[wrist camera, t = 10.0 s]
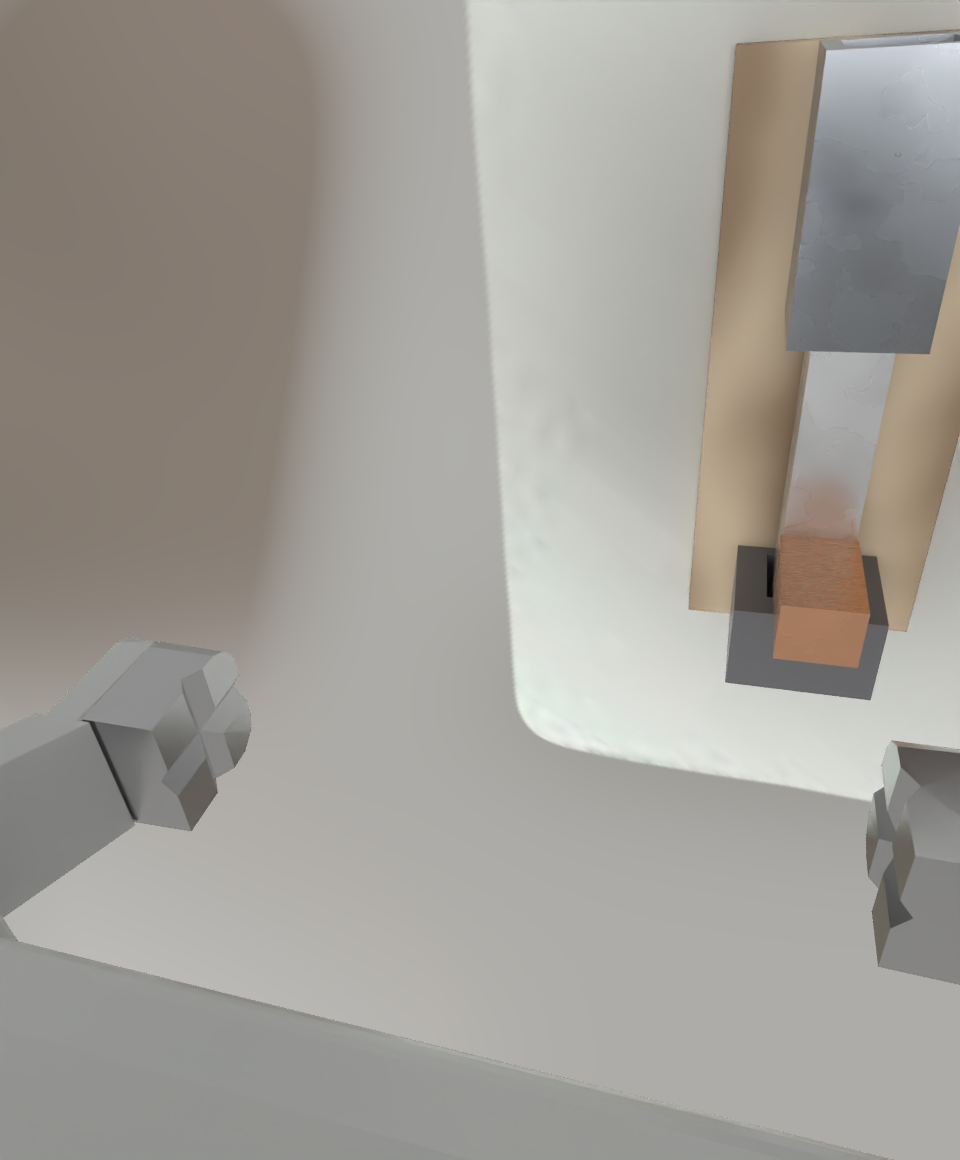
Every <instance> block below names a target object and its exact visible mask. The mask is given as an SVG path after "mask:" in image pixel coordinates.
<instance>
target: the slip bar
mask: <svg viewBox="0 0 960 1160" xmlns="http://www.w3.org/2000/svg"><path fill="white" fill-rule="evenodd" d="M895 354H896V353H858V352H819V351H805V352H804V359H803V366H802V372H801V379H800V386H799V393H798V399H797V406H796V413H795V420H794V427H793V433H792V440H791V447H790V454H789V460H788V467H787V474H786V481H785V487H784V494H783V501H782V508H781V514H780V521H779V528H778V535H777V541H776V548H775V555H774V562H773V568H772V575H771V582H770V589H769V595H768V597H772V598H773V658H774V659H782V660H791V661H800V662H808V663H817V664H826V665H835V666H843V667H852V668H858V665H859V660H860V656H861V652H862V648H863V643H864V639H865V635H866V630H867V626H868V622H869V618H870V609H869V602H868V596H867V589H866V582H865V576H864V569H863V562H862V556H861V549H860V543H859V541H858V540H857V536H858V531H859V526H860V521H861V517H862V512H863V507H864V502H865V498H866V493H867V488H868V483H869V478H870V474H871V469H872V464H873V459H874V455H875V450H876V445H877V440H878V436H879V431H880V426H881V421H882V416H883V412H884V407H885V402H886V397H887V393H888V388H889V383H890V378H891V374H892V369H893V364H894V359H895Z"/></svg>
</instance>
